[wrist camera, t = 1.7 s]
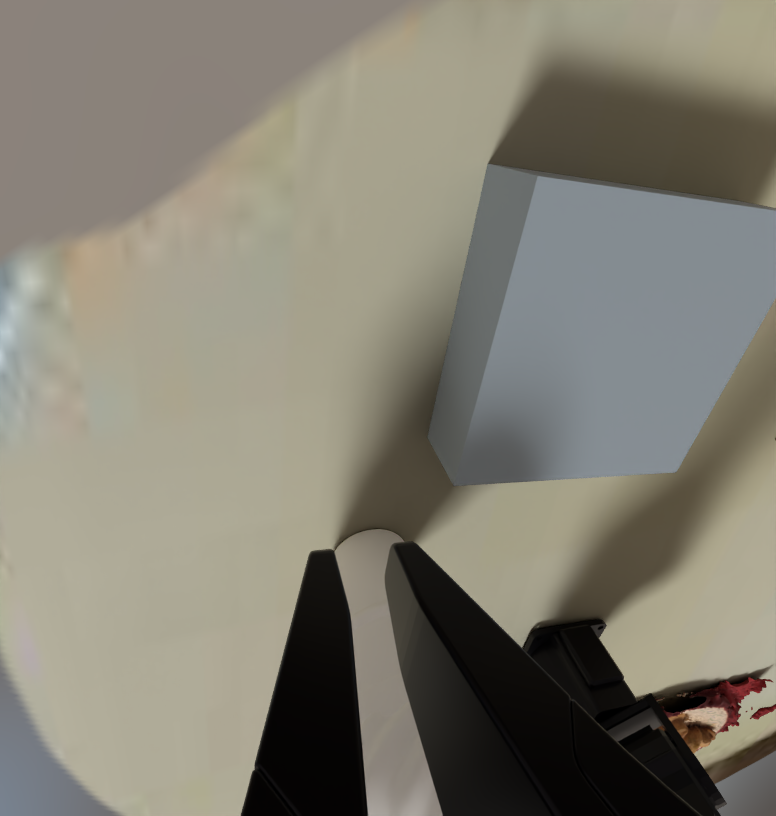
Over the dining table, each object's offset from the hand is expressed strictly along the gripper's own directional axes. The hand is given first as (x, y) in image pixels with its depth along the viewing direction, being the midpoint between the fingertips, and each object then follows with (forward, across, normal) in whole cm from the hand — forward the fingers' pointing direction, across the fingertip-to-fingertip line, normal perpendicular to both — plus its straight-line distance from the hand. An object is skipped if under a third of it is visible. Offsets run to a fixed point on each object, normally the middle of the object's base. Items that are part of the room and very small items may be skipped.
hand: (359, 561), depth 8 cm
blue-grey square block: (+12, -12, 0) cm, 18 cm away
